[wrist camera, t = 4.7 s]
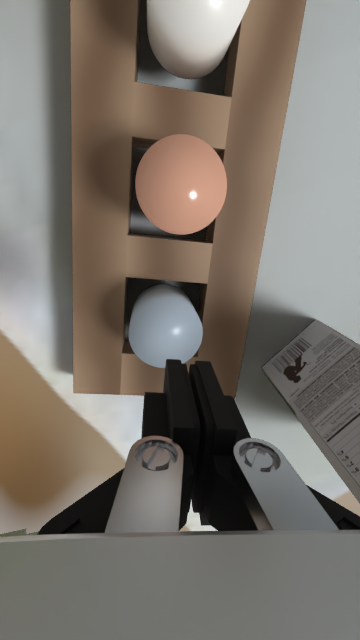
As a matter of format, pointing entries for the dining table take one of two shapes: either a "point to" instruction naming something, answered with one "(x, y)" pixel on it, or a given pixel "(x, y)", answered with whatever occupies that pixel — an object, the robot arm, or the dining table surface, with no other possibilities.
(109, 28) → the walnut board
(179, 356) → the blue egg
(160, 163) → the salmon domed cylinder
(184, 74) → the white egg
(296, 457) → the dining table surface
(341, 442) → the coffee box
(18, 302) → the dining table surface
